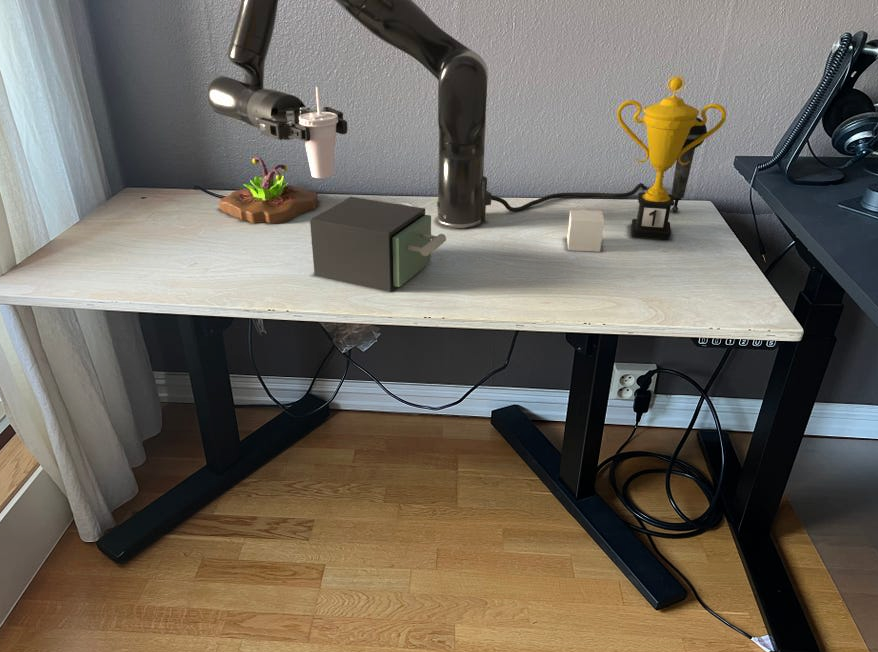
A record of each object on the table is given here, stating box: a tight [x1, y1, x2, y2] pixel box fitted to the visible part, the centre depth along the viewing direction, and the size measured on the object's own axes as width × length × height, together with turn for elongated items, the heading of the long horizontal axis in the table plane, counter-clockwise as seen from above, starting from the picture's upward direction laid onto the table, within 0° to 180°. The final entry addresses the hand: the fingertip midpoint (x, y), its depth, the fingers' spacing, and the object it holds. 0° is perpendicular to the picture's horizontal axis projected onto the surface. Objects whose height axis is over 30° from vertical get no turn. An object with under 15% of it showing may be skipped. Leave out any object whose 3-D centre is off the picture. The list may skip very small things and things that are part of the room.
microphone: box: [670, 116, 708, 213], centre depth 150 cm, size 7×7×20 cm
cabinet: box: [309, 196, 426, 292], centre depth 128 cm, size 16×14×11 cm
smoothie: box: [299, 86, 338, 179], centre depth 117 cm, size 6×6×14 cm
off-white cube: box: [566, 209, 605, 253], centre depth 138 cm, size 6×6×6 cm
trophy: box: [616, 75, 727, 241], centre depth 137 cm, size 19×10×30 cm, turn 74°
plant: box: [218, 156, 319, 224], centre depth 159 cm, size 20×20×11 cm
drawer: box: [391, 214, 447, 288], centre depth 126 cm, size 19×12×9 cm, turn 62°
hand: (326, 131), depth 115 cm, fingers closed on smoothie, 6 cm apart
